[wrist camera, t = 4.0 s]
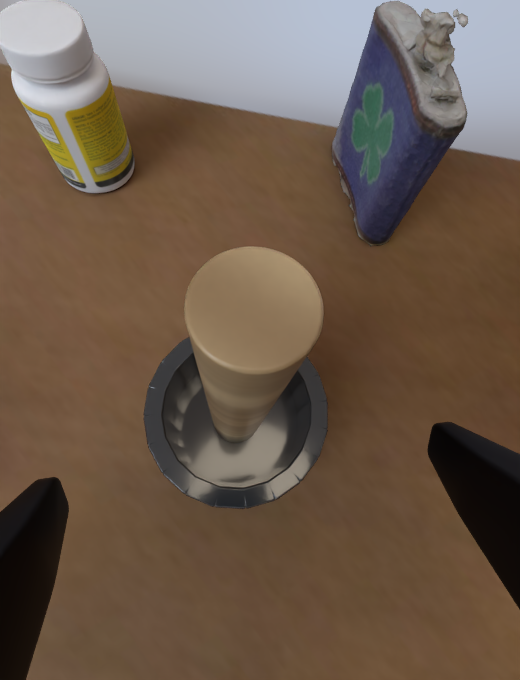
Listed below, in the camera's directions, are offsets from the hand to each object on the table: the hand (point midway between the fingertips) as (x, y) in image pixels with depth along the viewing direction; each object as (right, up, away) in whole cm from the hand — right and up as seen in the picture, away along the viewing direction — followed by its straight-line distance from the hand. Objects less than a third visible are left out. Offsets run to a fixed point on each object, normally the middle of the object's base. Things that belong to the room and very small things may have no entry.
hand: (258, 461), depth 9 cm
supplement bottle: (-11, +14, +16) cm, 24 cm away
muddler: (-1, -1, +11) cm, 11 cm away
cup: (-1, -1, +11) cm, 11 cm away
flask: (+7, +13, +17) cm, 23 cm away
